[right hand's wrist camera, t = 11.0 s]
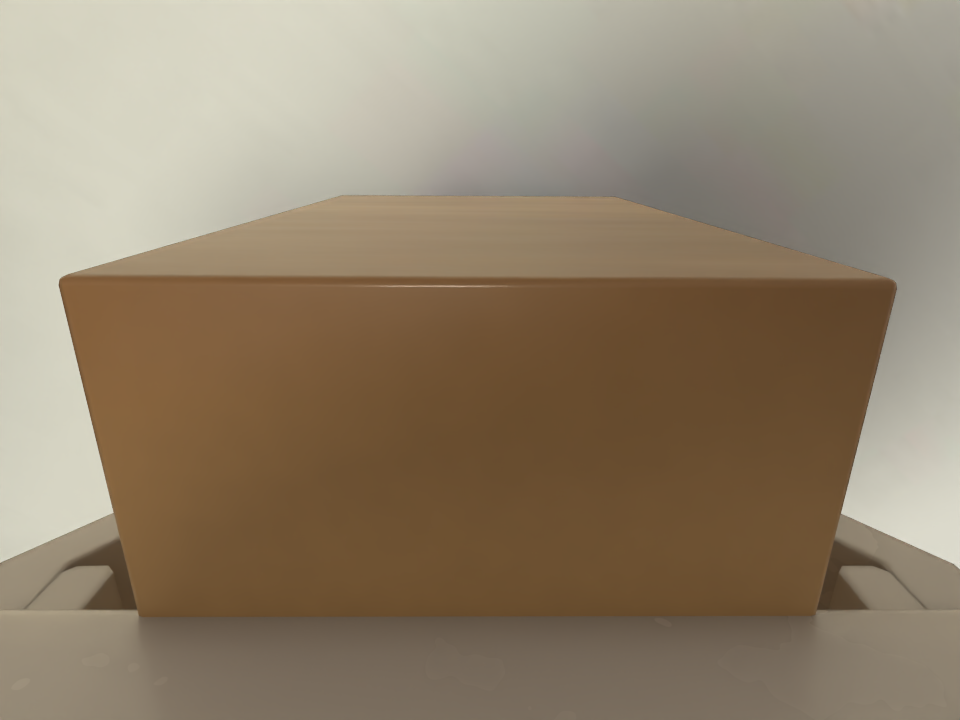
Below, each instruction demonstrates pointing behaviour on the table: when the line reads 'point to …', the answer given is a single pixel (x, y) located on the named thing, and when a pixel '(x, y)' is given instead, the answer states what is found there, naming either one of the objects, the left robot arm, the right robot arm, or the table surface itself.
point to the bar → (476, 411)
